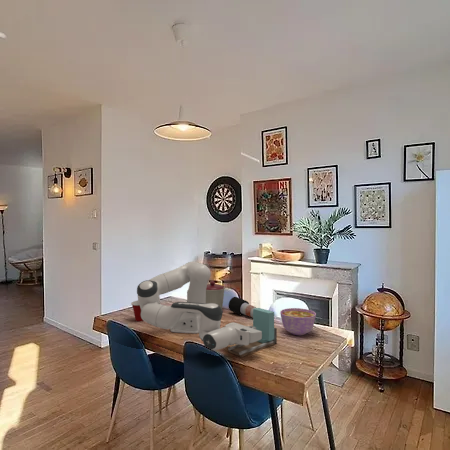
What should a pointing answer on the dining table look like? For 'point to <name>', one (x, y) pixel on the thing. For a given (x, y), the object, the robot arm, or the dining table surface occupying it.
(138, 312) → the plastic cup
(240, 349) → the rail
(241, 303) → the cable
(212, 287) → the canister
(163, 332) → the dining table surface
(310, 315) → the bowl of food
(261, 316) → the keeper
